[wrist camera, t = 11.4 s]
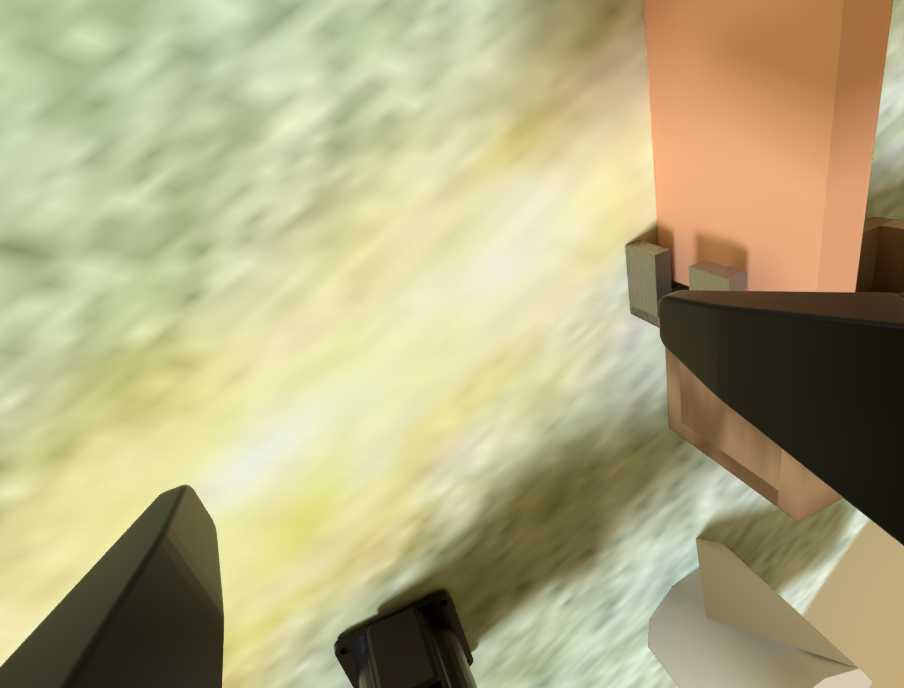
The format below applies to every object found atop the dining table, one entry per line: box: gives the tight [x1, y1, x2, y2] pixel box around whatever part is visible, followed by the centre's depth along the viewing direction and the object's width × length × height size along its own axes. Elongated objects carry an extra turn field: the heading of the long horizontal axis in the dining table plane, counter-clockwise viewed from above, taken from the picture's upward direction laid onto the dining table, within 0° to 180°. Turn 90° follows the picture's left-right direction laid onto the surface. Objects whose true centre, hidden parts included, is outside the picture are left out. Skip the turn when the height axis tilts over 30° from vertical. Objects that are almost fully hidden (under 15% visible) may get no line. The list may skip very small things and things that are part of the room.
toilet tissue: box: [648, 539, 872, 688], centre depth 33 cm, size 9×13×9 cm
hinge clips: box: [625, 241, 747, 328], centre depth 22 cm, size 4×5×6 cm
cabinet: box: [666, 217, 904, 522], centre depth 25 cm, size 8×14×8 cm, turn 104°
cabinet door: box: [644, 0, 893, 292], centre depth 19 cm, size 12×2×8 cm, turn 15°
